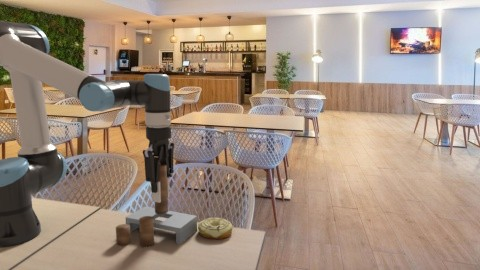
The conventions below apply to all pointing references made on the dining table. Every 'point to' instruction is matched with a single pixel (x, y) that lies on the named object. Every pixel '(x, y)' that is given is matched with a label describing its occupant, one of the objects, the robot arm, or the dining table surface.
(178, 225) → the bridge
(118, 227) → the short dowel
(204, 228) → the decorated donut
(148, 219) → the medium dowel
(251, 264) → the dining table surface
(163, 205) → the long dowel
